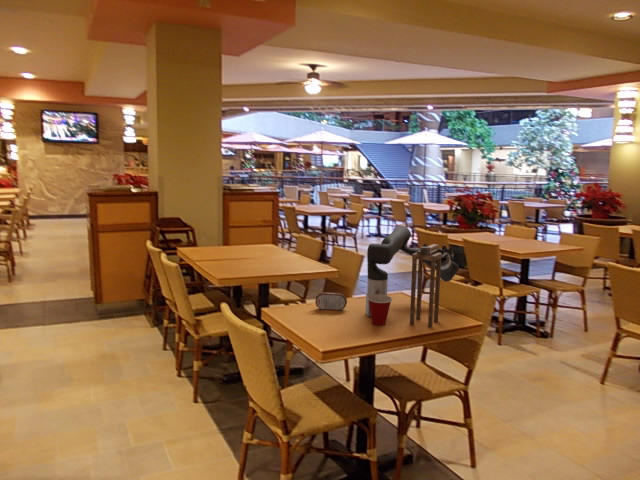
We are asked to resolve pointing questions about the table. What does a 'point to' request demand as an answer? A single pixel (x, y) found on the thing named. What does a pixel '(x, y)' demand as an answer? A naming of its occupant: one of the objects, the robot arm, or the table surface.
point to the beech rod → (428, 249)
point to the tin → (331, 301)
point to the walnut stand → (431, 257)
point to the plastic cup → (379, 308)
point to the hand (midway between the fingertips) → (433, 246)
